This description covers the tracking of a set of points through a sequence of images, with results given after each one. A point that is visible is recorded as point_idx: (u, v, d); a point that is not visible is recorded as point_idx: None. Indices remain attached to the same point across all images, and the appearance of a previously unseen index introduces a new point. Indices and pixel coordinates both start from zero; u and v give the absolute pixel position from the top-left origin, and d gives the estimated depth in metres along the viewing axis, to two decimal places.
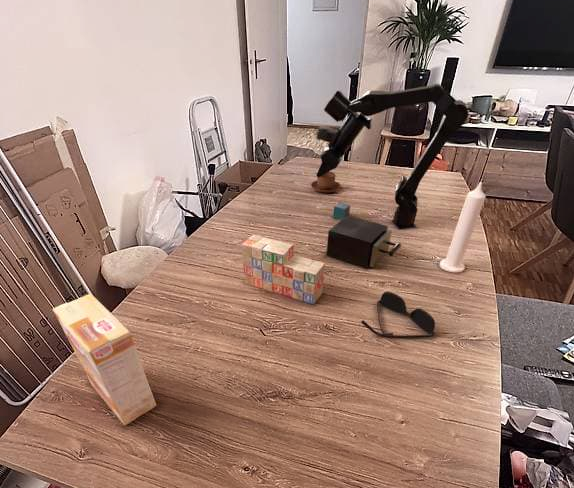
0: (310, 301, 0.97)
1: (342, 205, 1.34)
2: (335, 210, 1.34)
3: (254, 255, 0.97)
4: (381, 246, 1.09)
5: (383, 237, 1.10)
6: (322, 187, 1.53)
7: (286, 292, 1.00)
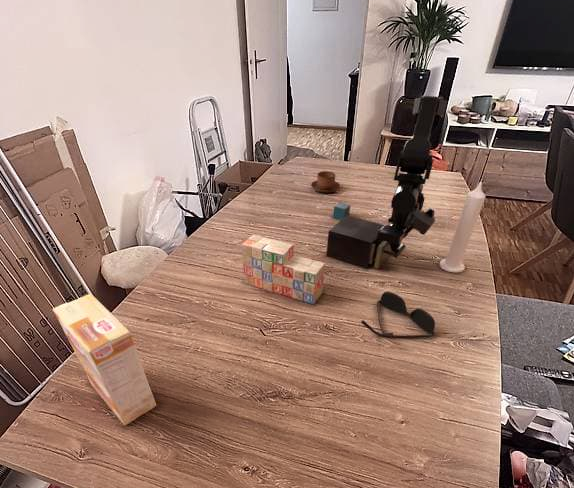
0: (310, 301, 0.97)
1: (342, 205, 1.34)
2: (335, 210, 1.34)
3: (254, 255, 0.97)
4: (386, 247, 1.09)
5: None
6: (322, 187, 1.53)
7: (286, 292, 1.00)
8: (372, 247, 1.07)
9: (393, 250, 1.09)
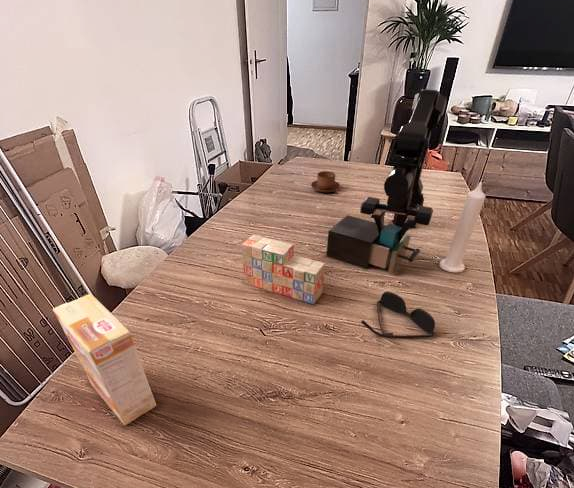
0: (310, 301, 0.97)
1: (391, 227, 1.06)
2: (396, 236, 1.05)
3: (254, 255, 0.97)
4: (400, 252, 1.07)
5: (402, 242, 1.07)
6: (322, 187, 1.53)
7: (286, 292, 1.00)
8: (387, 251, 1.06)
9: None
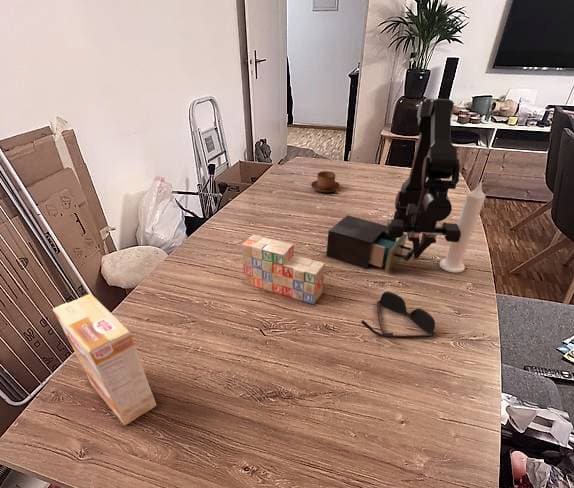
0: (310, 301, 0.97)
1: (384, 242, 1.10)
2: None
3: (254, 255, 0.97)
4: (396, 250, 1.07)
5: (398, 241, 1.08)
6: (322, 187, 1.53)
7: (286, 292, 1.00)
8: (383, 250, 1.06)
9: None
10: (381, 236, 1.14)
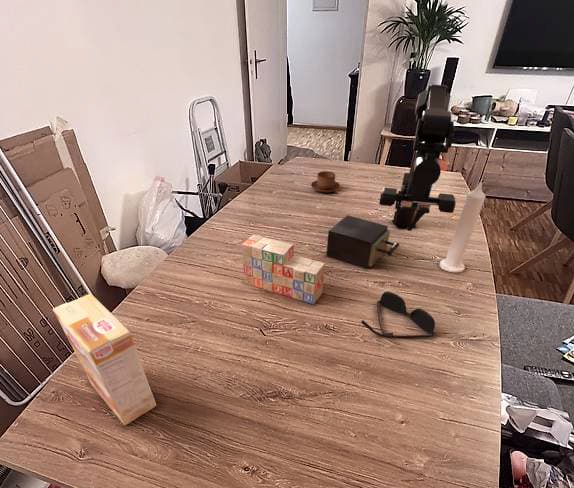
0: (310, 301, 0.97)
1: None
2: None
3: (254, 255, 0.97)
4: (379, 246, 1.09)
5: (381, 237, 1.10)
6: (322, 187, 1.53)
7: (286, 292, 1.00)
8: None
9: None
10: None
